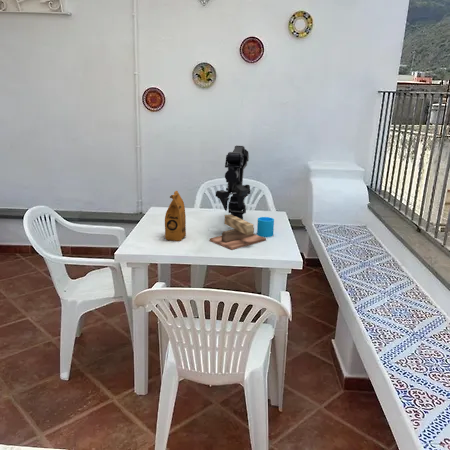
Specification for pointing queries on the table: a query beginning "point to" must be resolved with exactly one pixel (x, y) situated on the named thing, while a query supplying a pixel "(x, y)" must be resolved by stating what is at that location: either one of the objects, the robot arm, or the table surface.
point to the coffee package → (175, 219)
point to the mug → (265, 227)
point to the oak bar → (239, 224)
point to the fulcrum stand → (236, 239)
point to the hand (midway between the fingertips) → (232, 209)
